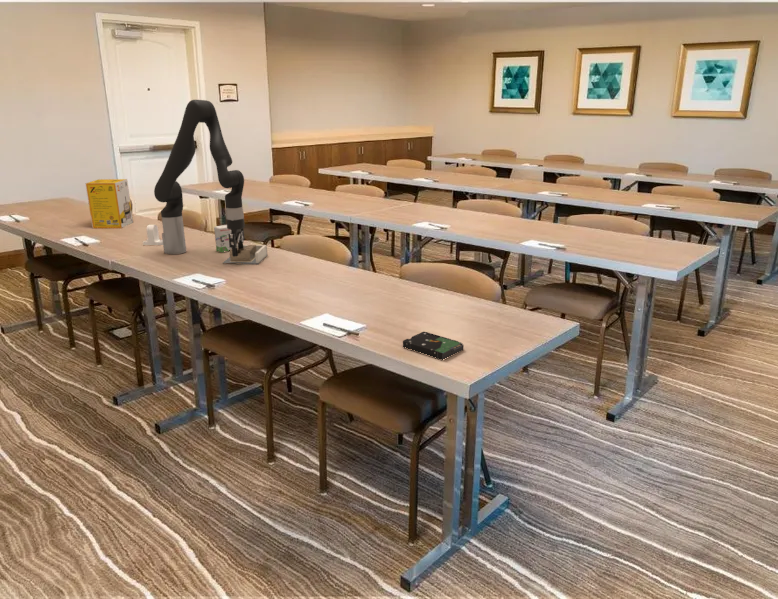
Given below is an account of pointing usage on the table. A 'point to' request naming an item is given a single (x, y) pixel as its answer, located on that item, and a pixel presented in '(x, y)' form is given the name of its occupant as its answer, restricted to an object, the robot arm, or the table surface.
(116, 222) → the packaging box
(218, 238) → the ink box
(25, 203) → the table surface
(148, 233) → the cable organizer
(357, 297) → the table surface
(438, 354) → the disk drive
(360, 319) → the table surface
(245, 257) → the tan boxy piece
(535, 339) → the table surface
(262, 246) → the tray
